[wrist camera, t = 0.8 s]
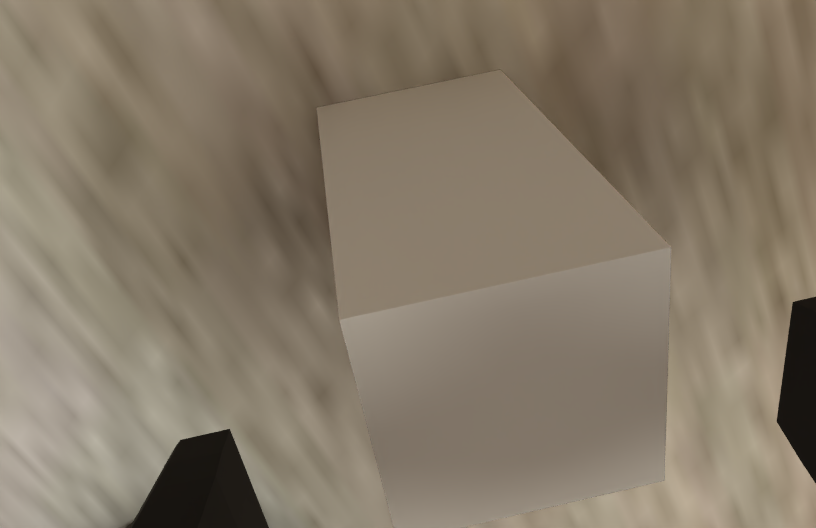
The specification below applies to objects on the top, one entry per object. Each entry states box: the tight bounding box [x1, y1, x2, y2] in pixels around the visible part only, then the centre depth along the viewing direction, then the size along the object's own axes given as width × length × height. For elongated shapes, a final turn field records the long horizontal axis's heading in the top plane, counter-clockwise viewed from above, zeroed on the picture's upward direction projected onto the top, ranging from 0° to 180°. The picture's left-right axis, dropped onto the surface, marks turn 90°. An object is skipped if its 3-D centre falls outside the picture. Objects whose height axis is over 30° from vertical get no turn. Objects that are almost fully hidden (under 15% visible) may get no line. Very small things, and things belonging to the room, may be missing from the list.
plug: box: [317, 70, 671, 528], centre depth 13 cm, size 4×4×8 cm
